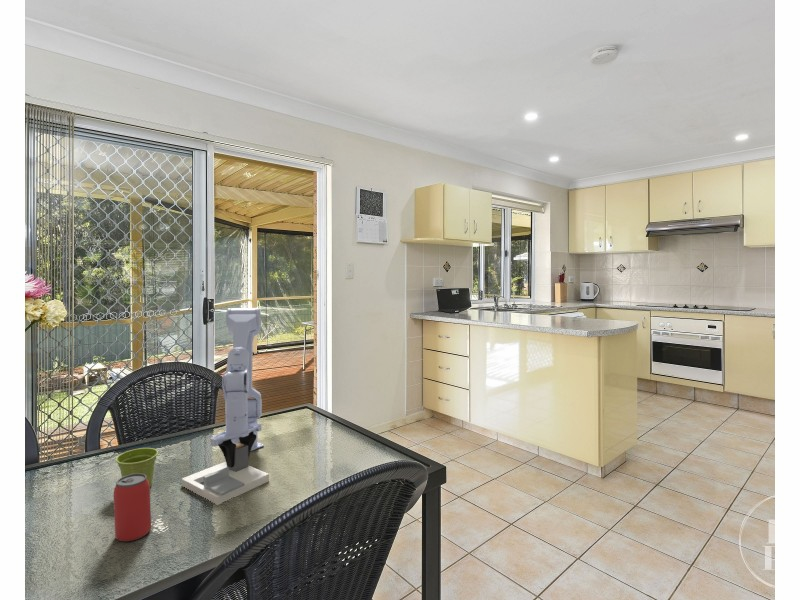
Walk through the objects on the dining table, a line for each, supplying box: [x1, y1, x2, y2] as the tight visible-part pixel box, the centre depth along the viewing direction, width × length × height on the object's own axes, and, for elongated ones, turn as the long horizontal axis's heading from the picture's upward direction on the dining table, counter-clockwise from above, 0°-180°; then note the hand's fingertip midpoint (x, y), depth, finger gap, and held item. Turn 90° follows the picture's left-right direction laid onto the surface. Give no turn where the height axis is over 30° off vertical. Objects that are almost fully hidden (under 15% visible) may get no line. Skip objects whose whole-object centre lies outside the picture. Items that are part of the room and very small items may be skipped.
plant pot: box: [115, 447, 159, 488], centre depth 114 cm, size 9×9×9 cm
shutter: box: [204, 467, 244, 496], centre depth 111 cm, size 7×6×3 cm
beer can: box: [113, 473, 152, 543], centre depth 95 cm, size 7×7×12 cm
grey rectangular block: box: [227, 442, 250, 472], centre depth 122 cm, size 4×4×6 cm
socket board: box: [181, 461, 270, 506], centre depth 117 cm, size 16×15×2 cm
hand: (237, 463), depth 122 cm, fingers closed on grey rectangular block, 4 cm apart
